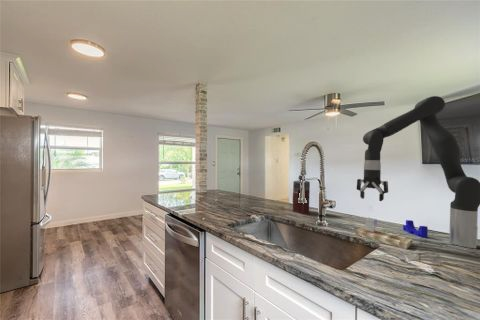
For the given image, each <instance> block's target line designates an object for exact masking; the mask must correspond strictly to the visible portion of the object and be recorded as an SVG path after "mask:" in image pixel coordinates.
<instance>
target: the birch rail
mask: <svg viewBox="0 0 480 320" xmlns="http://www.w3.org/2000/svg"><path fill="white" fill-rule="evenodd" d="M354 232H355V233H354V234H355V235H356V236H357V237H361V236H362V238H364V239H369V240H372V241H376V242H379V243H383V244H387V245H390V246H393V247H398V248H400V249H404V250H407V249H408V248H410V247H411V246H412V245H413V238H410V237H406V236H403V235H397V234H394V233H391V232H386V231H381V230H378V229H376V233H371V232H367V231H365V226H362V227H359V228H357V229H355V231H354Z"/></svg>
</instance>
